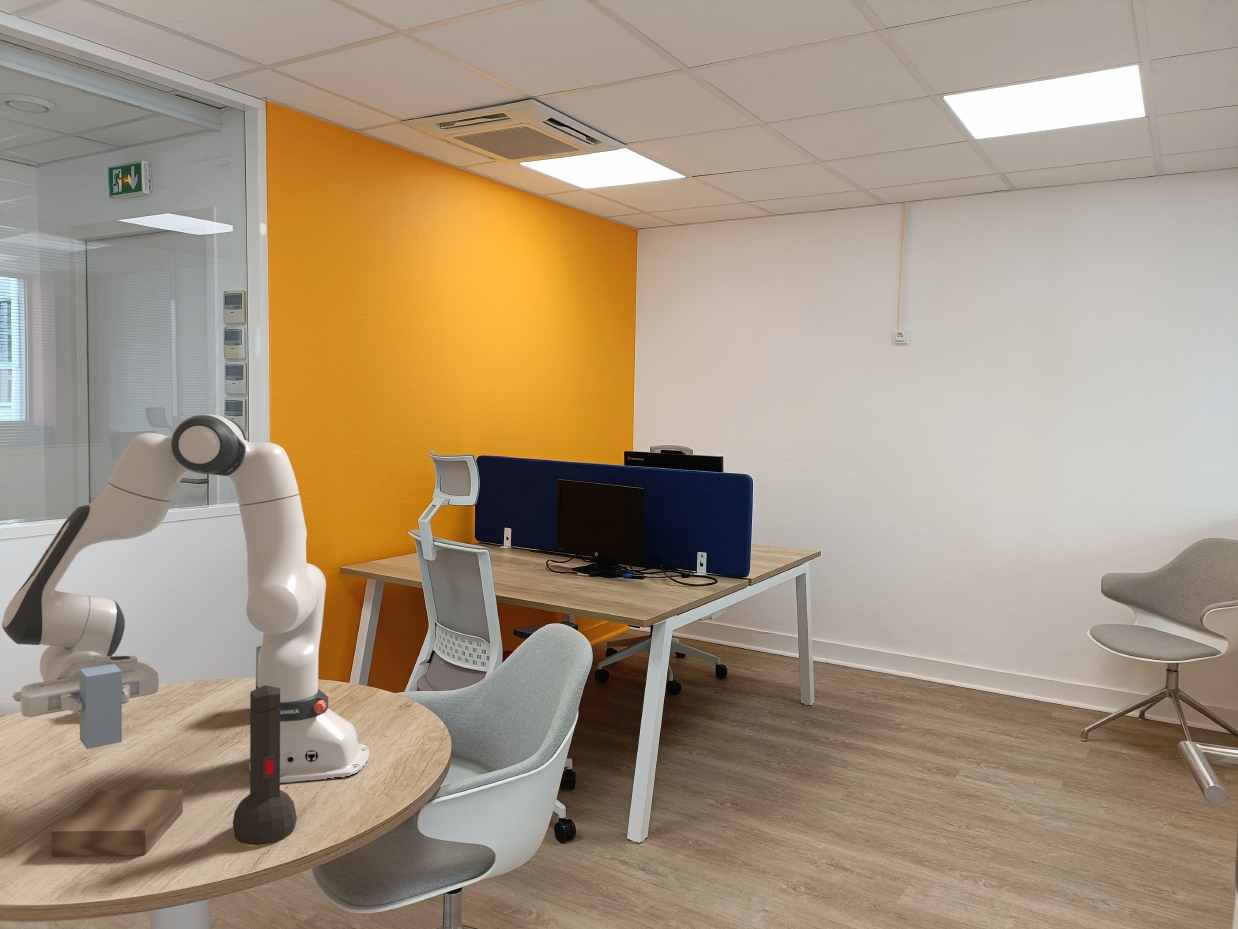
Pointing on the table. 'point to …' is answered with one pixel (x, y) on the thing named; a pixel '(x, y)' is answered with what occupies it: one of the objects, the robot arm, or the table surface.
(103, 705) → the slate block
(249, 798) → the flashlight
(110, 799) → the block
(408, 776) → the table surface
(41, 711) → the robot arm
